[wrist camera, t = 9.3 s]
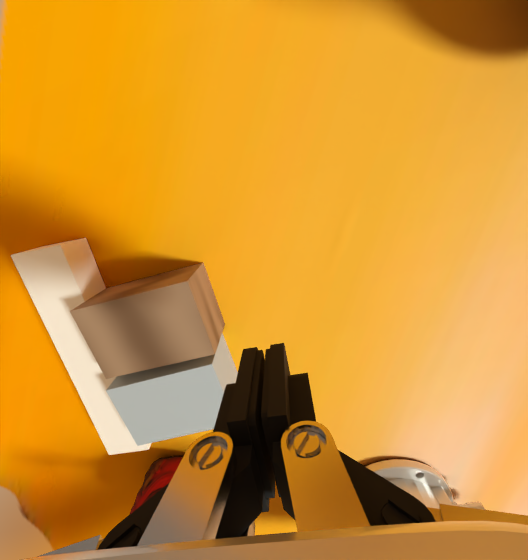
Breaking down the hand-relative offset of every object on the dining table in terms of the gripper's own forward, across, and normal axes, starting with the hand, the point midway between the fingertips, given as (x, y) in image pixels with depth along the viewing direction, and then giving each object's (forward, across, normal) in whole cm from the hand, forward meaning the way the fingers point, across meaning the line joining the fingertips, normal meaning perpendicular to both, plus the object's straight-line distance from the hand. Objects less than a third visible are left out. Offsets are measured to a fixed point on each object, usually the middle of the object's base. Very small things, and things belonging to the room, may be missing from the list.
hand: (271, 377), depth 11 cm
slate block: (+14, +10, +7) cm, 18 cm away
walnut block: (+13, +10, 0) cm, 17 cm away
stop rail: (+13, +17, +3) cm, 21 cm away
